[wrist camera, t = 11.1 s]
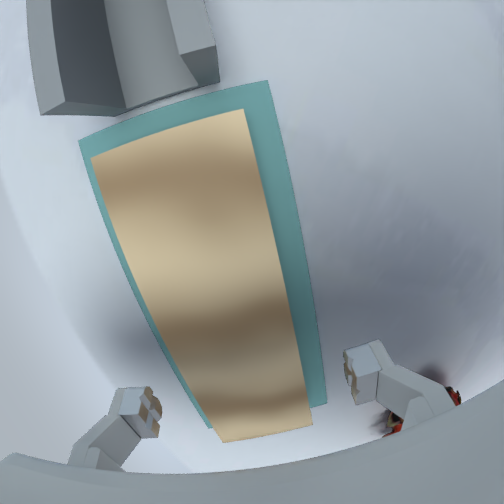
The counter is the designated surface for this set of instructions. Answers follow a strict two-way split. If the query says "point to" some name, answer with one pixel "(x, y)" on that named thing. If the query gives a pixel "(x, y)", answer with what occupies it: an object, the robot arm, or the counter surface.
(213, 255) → the oak lid
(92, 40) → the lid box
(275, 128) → the teal mat
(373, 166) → the counter surface
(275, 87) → the counter surface
